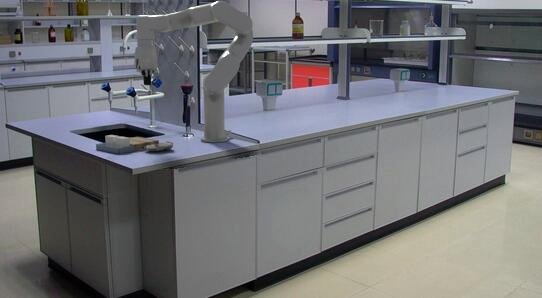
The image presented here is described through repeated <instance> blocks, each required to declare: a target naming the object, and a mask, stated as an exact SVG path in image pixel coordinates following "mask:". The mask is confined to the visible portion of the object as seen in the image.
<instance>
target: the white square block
mask: <svg viewBox="0 0 542 298" xmlns="http://www.w3.org/2000/svg"><path fill="white" fill-rule="evenodd" d="M130 138H131V137H126V136H120V137H115V145H116V148H123V147H129V146H130Z"/></svg>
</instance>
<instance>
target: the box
mask: <svg viewBox="0 0 542 298" xmlns="http://www.w3.org/2000/svg"><path fill="white" fill-rule="evenodd" d="M95 146H96V147H95V148H96V150H97V151H101V152H105V153H111V154H116V155H123V154H124V155H125V154H129V153H135V151H134V146H129V147H123V148H115V147H110V146H106V142H102V143H95Z"/></svg>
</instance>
